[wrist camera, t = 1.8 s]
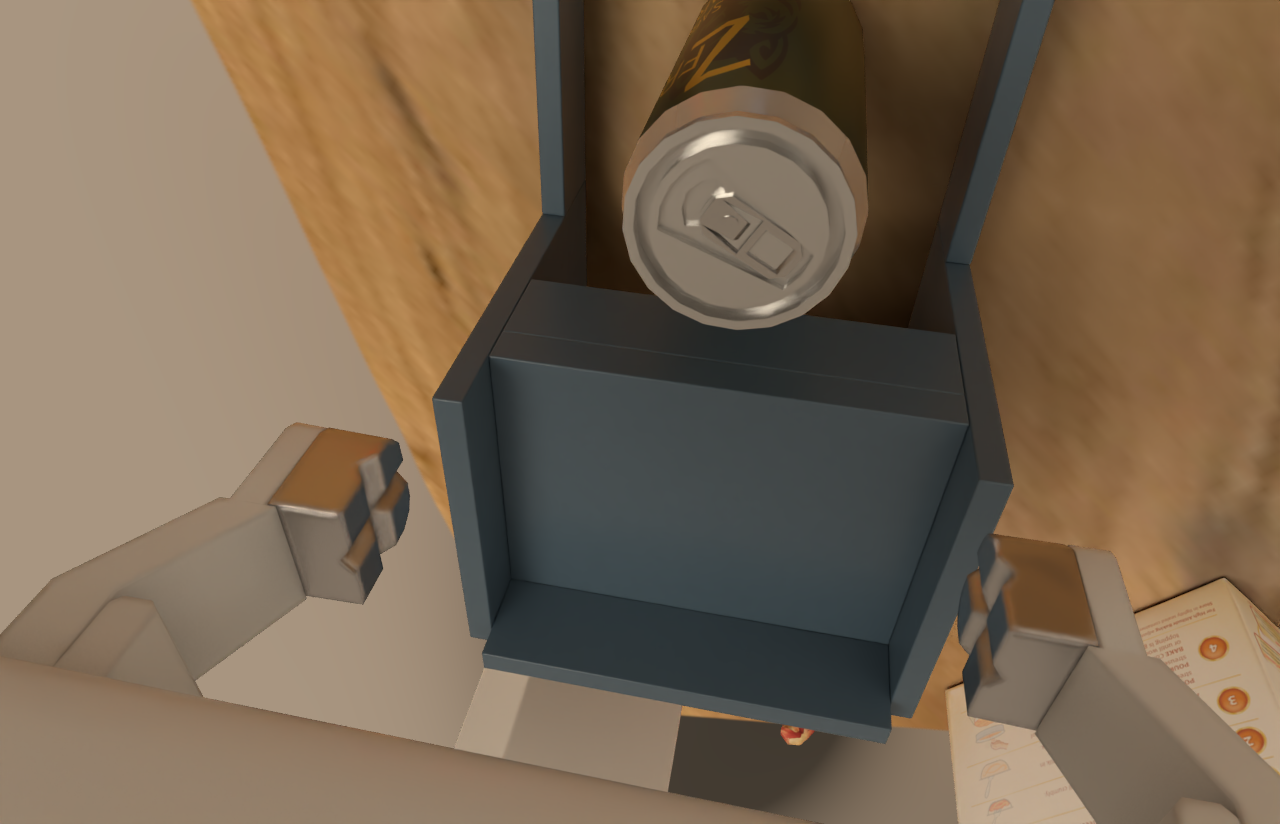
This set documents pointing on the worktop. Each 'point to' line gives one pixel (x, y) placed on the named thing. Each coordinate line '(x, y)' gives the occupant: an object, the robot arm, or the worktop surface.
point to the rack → (727, 456)
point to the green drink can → (753, 164)
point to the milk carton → (572, 729)
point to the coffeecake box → (1173, 631)
